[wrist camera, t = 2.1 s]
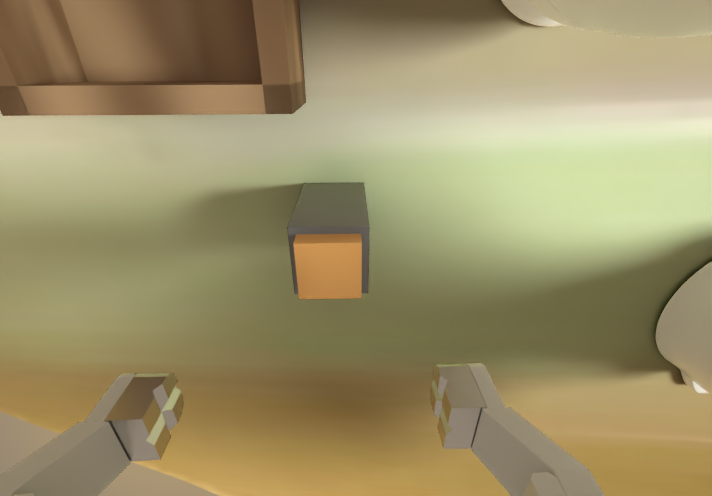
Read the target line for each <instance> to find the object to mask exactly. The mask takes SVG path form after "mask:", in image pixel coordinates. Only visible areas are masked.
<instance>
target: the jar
mask: <svg viewBox="0 0 712 496" xmlns="http://www.w3.org/2000/svg"><path fill="white" fill-rule="evenodd" d="M501 1H502V2H503V4H504V5H505V6H506V8H507V9H508V10H509V11H510V12H511V13H513V14H514V15H515V16H516V17H518V18H519V19H521V20H523V21H525V22H527V23H530V24H533V25H537V26H545V27H552V26H561V25H566V26H570V27H573V28H578V29H583V30H590V31H601V32H605V33H609V34H614V35H621V36H628V37H640V38H677V37H691V36H701V35H709V34H712V0H501Z"/></svg>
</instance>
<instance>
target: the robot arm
mask: <svg viewBox="0 0 712 496" xmlns="http://www.w3.org/2000/svg"><path fill="white" fill-rule="evenodd" d="M656 343H657V347H658V349H659V351H660V353H661V354H662V356H663V357H664V358H665V359H666V360H668V361H669V362H671V363H672V364H674V365H675V366H676V367H678V368H679V369H680V370H681V374H682V378H683V380H684V382H685V384H686V385H688V386H689V387H690V388H692V389H693V390H694V391H695V392H697V393H709V394H711V395H712V261H711V262H710V263H708V264H707V265H705V266H704V267H703V268H701V269H700V270H699V271H698V272H696V273H695V274H694V275H693V276H692V277H690V278H689V279H688V280H687V281H686V282H685V283H684V284H683V285H682V286H681V287H680V288H679V289H678V290H677V292H676V293H675V294H674V295H673V296H672V298H671V299H670V300H669V302H668V303H667V305H666V306H665V308H664V310H663V312H662V314H661V316H660V318H659V321H658V324H657V329H656ZM433 376H434V379H435V380H434V381H433V382H432V383H431V390H430V392H431V403H432V408H433V412H434V415H435V416H436V417H437V418H439V422H438V431H439V435H440V438H441V442H442V445H443V449H461V448H472V449H471V450H472V451H473V452H474V454H475V455H476V456H477V457H478V458H479V459H480V460H481V462H482V463H483V464H484V465H485V466H486V467H487V468H488V470H489V471H490V472H491V473H492V474H493V475H494V476H495V478H496V479H497V480H498V481H499V482H500V483H501V484H502V486H503V487H504V488H505V489H506V490H507V491H508V492H509V494H510V495H511V496H605V495H604V493H603V491H602V490H601V488H600V487H599V485H598V483H597V482H596V480H595V478H594V477H593V475H592V474H591V472H590V470H589V469H588V468H586V467H585V466H584V465H583V464H581V463H580V462H579V461H578V460H576V459H575V458H574V457H572V456H571V455H570V454H569V453H567V452H566V451H565V450H564V449H562V448H561V447H560V446H559V445H557V444H556V443H555V442H553V441H552V440H551V439H550V438H548V437H547V436H546V435H545V434H543V433H542V432H541V431H539V430H538V429H537V428H536V427H534V426H533V425H532V424H531V423H529V422H528V421H527V420H525V419H524V418H523V417H522V416H520V415H519V414H518V413H517V412H515V411H514V410H513V409H512V408H505V406H504V404H503V402H502V399H501V397H500V395H499V393H498V391H497V389H496V387H495V385H494V383H493V381H492V379H491V377H490V375H489V373H488V371H487V369H486V367H485V365H484V364H483V363H469V364H465V363H464V364H441V365H435V366H434V369H433ZM177 382H178V381H177V378H176V376H175V374H173V373H136V374H121V375H120V376H118V377H117V378H116V379H115V380H114V382H113V383H112V384H111V386H110V387H109V388H108V390H107V391H106V392H105V394H104V395H103V397H102V398H101V399H100V401H99V402H98V403H97V405H96V406H95V407H94V409H93V410H92V411H91V413H90V414H89V416H88V417H87V418H86V420H85V421H84V422H78V423H77V424H75V425H74V426H72V427H71V428H69V429H68V430H66V431H65V432H63V433H62V434H60V435H59V436H57V437H56V438H55V439H53V440H52V441H50V442H49V443H47V444H46V445H44V446H43V447H41V448H40V449H38V450H37V451H35V452H34V453H32V454H31V455H29V456H28V457H26V458H25V459H23V460H22V461H21V462H19V463H17V464H16V465H15V466H13V467H12V468H10V469H9V470H7V471H6V472H4V473H3V474H1V475H0V496H98V495H99V494H100V493H101V492H102V491H103V490H104V489H105V488H106V487H107V486H108V485H109V484H110V483H111V482H112V481H113V480H114V479H115V478H116V477H117V476H118V475H119V474H120V473H121V472H122V471H123V470H124V469H125V468H126V467H127V466H128V465H129V464H130V462H131V461H146V460H161V458H162V456H163V453H164V451H165V449H166V447H167V445H168V443H169V441H170V438H171V435H170V432H169V430H170V429H171V428H172V427H174V426H175V425H176V424H177V423H178V421H179V419H180V417H181V414H182V409H183V404H184V402H183V395H182V392H181V391H180V390H179V389H178V388H176V387H175V385H176V384H177Z"/></svg>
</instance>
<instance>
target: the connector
mask: <svg viewBox="0 0 712 496" xmlns="http://www.w3.org/2000/svg"><path fill="white" fill-rule="evenodd" d="M287 229H288V238H289V247H290V256H291V265H292V274H293V283H294V292H295V294H299V299H340V298H361V297H362V293H368V274H369V220H368V212H367V204H366V196H365V188H364V183H304V185H303V187H302V190H301V193H300V195H299V198H298V201H297V203H296V206H295V208H294V211H293V214H292V216H291V219H290V221H289V224H288V227H287Z"/></svg>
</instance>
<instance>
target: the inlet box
mask: <svg viewBox="0 0 712 496" xmlns="http://www.w3.org/2000/svg"><path fill="white" fill-rule="evenodd" d="M305 103H306V95H305V80H304V66H303V51H302V37H301V22H300V7H299V0H0V110H1V112H2V115H3V116H13V115H169V114H293V113H294V112H295V111H296V110H297V109H299V108H300V107H301V106H302V105H303V104H305Z"/></svg>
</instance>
